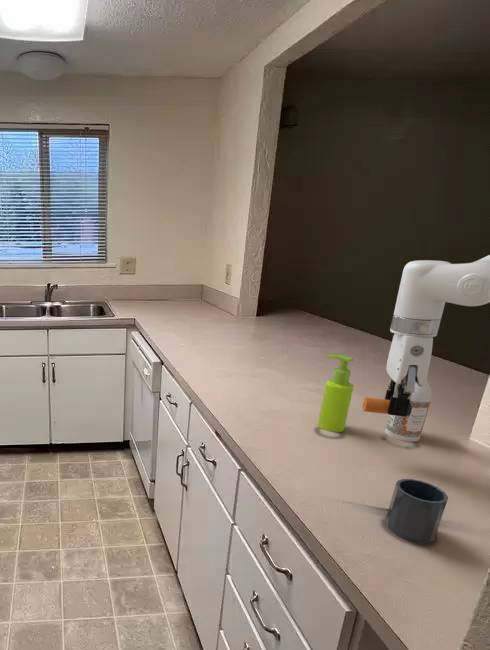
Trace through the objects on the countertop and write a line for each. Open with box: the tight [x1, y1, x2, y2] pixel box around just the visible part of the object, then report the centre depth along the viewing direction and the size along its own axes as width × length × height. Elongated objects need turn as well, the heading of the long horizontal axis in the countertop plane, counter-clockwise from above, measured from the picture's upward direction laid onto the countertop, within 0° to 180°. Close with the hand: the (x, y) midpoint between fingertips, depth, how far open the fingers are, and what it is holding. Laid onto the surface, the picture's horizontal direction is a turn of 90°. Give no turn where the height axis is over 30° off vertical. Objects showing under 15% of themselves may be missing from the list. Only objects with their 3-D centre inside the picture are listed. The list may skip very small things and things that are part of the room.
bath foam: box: [384, 379, 432, 443], centre depth 103 cm, size 7×7×20 cm
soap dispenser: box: [317, 353, 355, 433], centre depth 107 cm, size 6×7×20 cm
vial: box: [362, 397, 412, 416], centre depth 91 cm, size 8×3×3 cm, turn 68°
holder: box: [385, 478, 449, 544], centre depth 74 cm, size 7×7×8 cm
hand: (394, 410), depth 91 cm, fingers closed on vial, 3 cm apart
